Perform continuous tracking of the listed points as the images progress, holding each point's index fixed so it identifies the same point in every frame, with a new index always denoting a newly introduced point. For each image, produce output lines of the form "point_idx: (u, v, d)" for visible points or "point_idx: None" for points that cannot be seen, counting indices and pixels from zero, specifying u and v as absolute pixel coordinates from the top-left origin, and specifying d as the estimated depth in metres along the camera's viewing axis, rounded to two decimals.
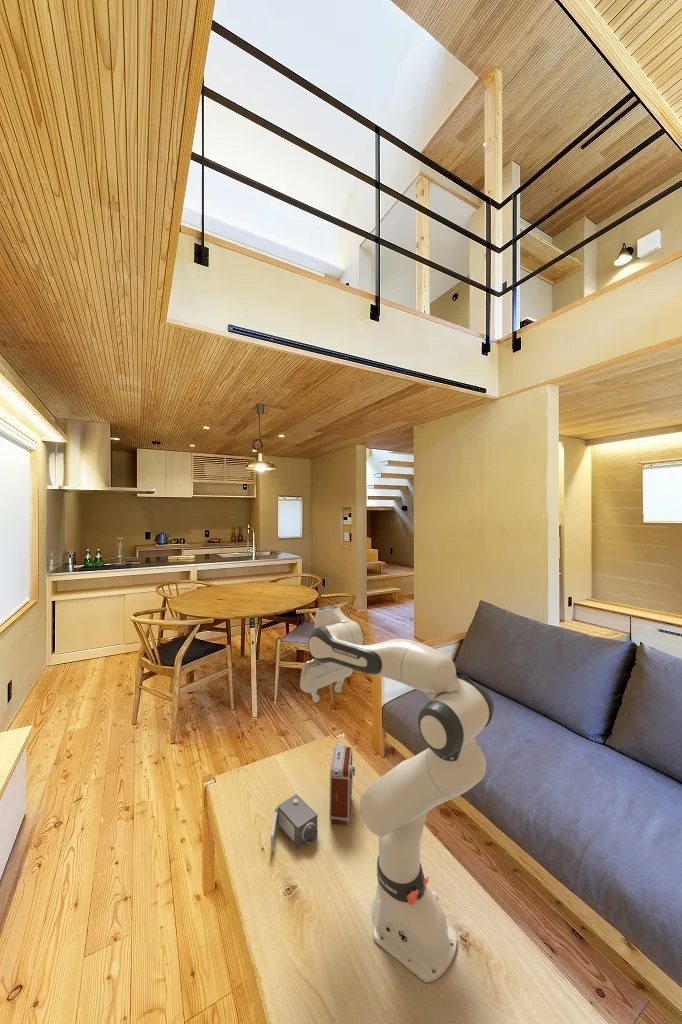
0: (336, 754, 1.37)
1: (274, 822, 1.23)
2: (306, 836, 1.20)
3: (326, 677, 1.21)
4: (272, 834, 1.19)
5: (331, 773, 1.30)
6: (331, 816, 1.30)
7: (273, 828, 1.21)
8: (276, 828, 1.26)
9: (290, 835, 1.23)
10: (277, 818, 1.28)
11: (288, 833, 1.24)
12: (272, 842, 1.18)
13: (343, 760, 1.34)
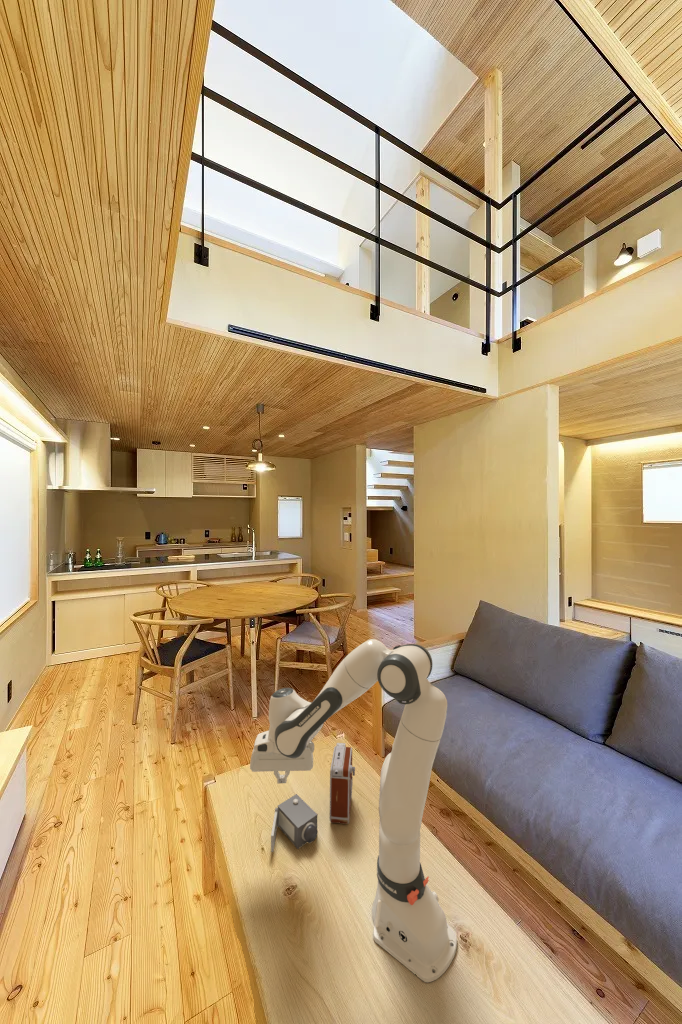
0: (336, 754, 1.37)
1: (274, 822, 1.23)
2: (306, 836, 1.20)
3: None
4: (272, 834, 1.19)
5: (331, 773, 1.30)
6: (331, 816, 1.30)
7: (273, 828, 1.21)
8: (276, 828, 1.26)
9: (290, 835, 1.23)
10: (277, 818, 1.28)
11: (288, 833, 1.24)
12: (272, 842, 1.18)
13: (343, 760, 1.34)
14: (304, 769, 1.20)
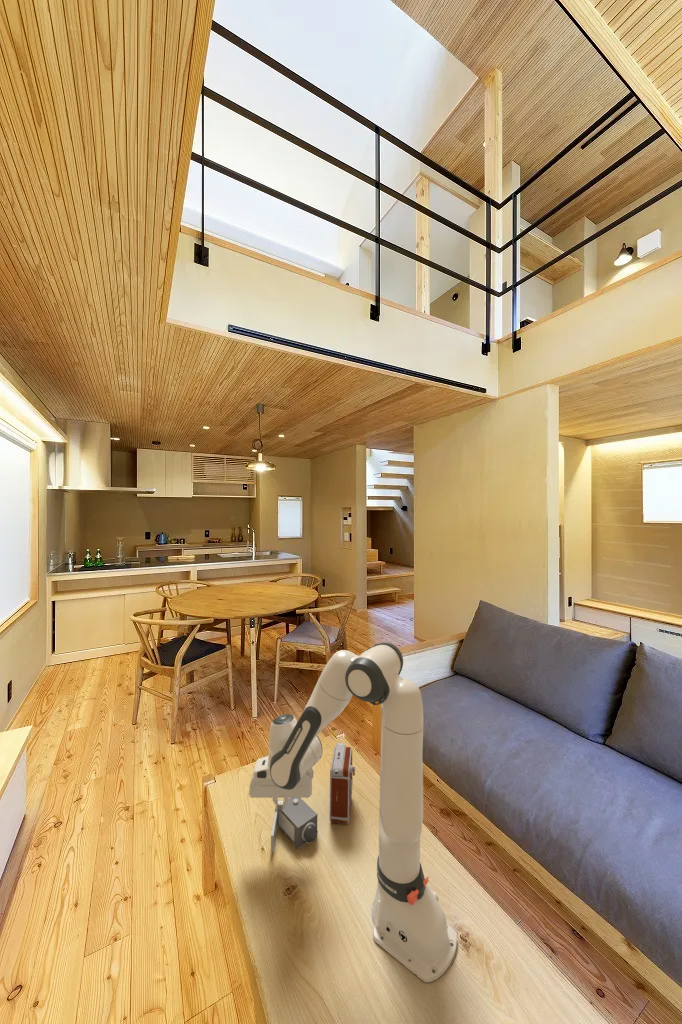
0: (336, 754, 1.37)
1: (274, 822, 1.23)
2: (306, 836, 1.20)
3: None
4: (272, 834, 1.19)
5: (331, 773, 1.30)
6: (331, 816, 1.30)
7: (273, 828, 1.21)
8: (276, 828, 1.26)
9: (290, 835, 1.23)
10: (277, 818, 1.28)
11: (288, 833, 1.24)
12: (272, 842, 1.18)
13: (343, 760, 1.34)
14: (303, 796, 1.20)
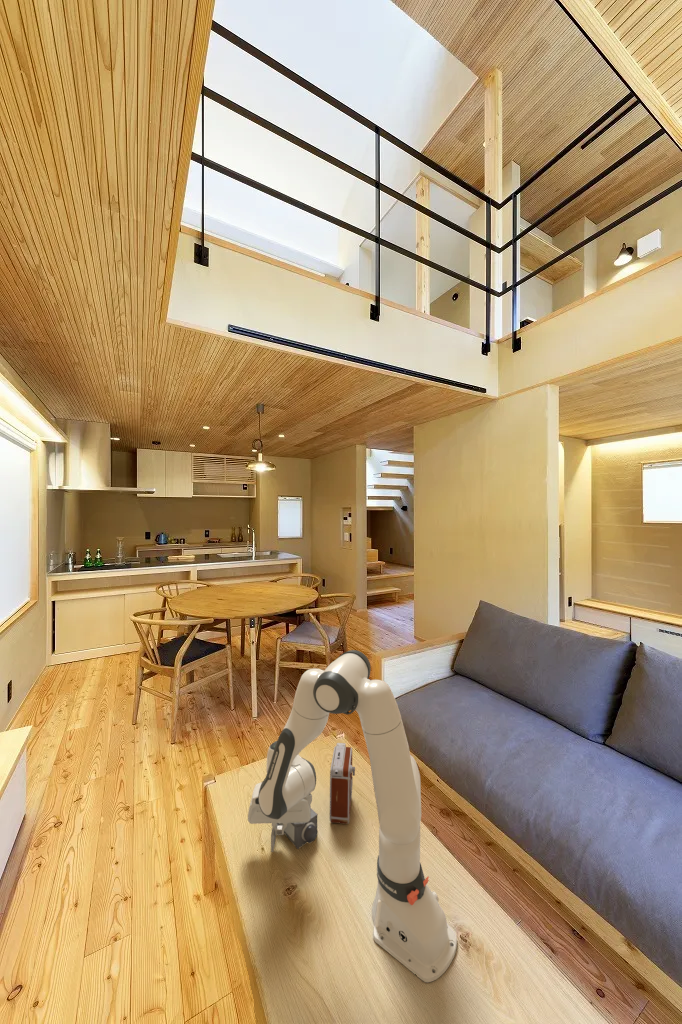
0: (336, 754, 1.37)
1: None
2: (306, 836, 1.20)
3: None
4: (272, 834, 1.19)
5: (331, 773, 1.30)
6: (331, 816, 1.30)
7: (273, 828, 1.21)
8: None
9: (290, 835, 1.23)
10: None
11: (288, 833, 1.24)
12: (272, 842, 1.18)
13: (343, 760, 1.34)
14: (302, 821, 1.20)
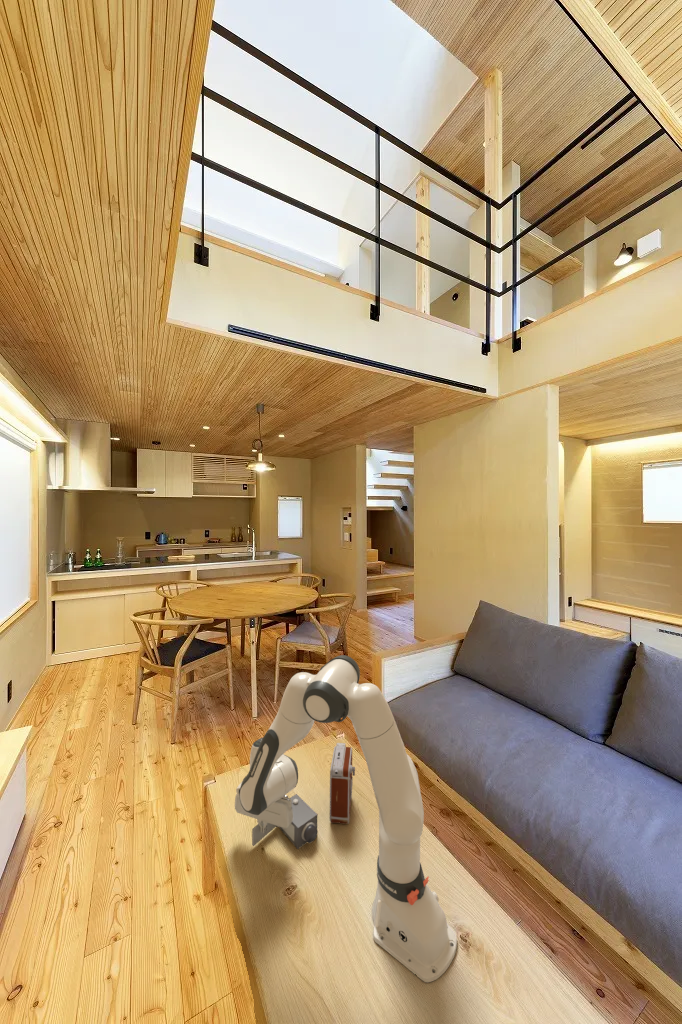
0: (336, 754, 1.37)
1: None
2: (306, 836, 1.20)
3: None
4: (254, 828, 1.21)
5: (331, 773, 1.30)
6: (331, 816, 1.30)
7: None
8: (271, 827, 1.26)
9: (290, 835, 1.23)
10: None
11: (288, 833, 1.24)
12: (253, 836, 1.20)
13: (343, 760, 1.34)
14: (280, 825, 1.18)
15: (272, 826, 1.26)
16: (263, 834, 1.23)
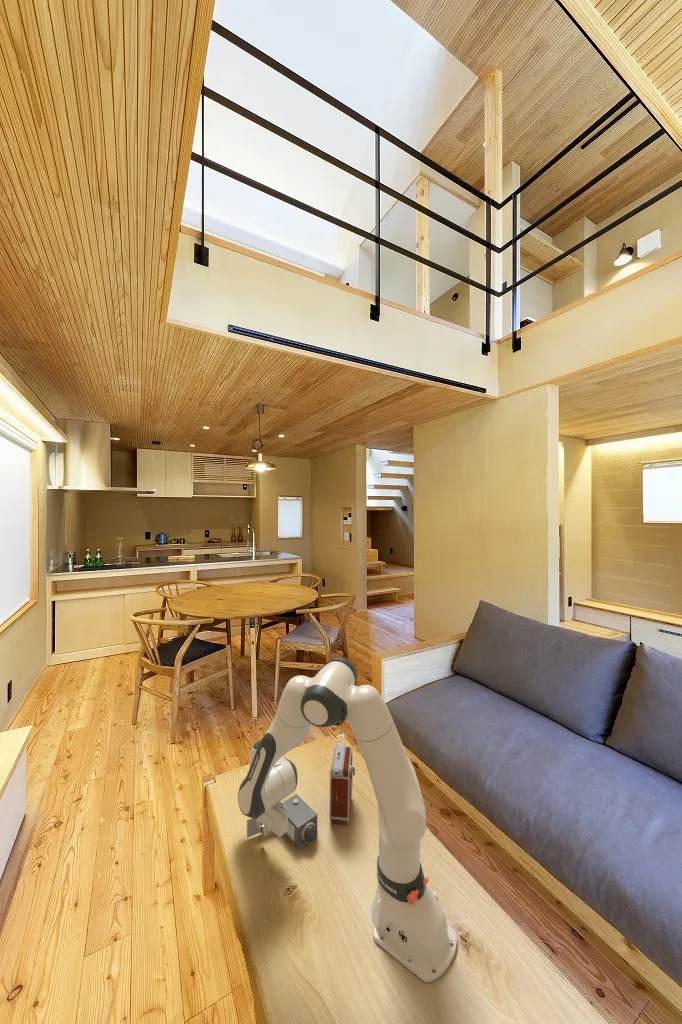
0: (336, 754, 1.37)
1: None
2: (306, 836, 1.20)
3: None
4: (248, 820, 1.24)
5: (331, 773, 1.30)
6: (331, 816, 1.30)
7: None
8: None
9: (290, 835, 1.23)
10: None
11: (288, 833, 1.24)
12: (247, 827, 1.24)
13: (343, 760, 1.34)
14: (274, 832, 1.16)
15: None
16: None
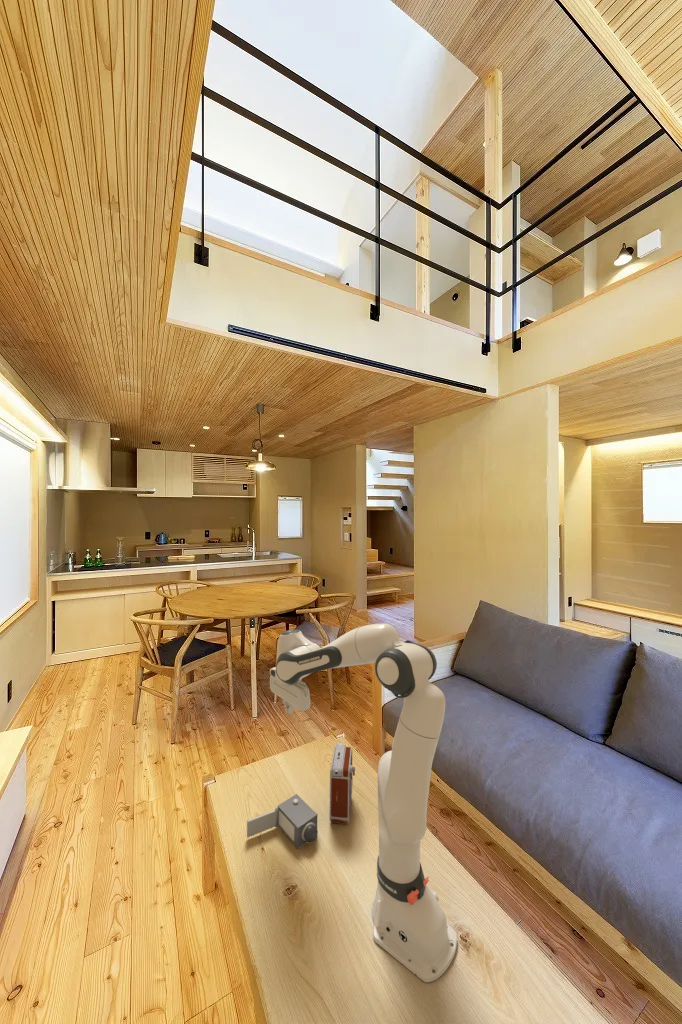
0: (336, 754, 1.37)
1: (262, 815, 1.26)
2: (306, 836, 1.20)
3: None
4: (248, 820, 1.24)
5: (331, 773, 1.30)
6: (331, 816, 1.30)
7: (255, 818, 1.25)
8: (269, 825, 1.27)
9: (290, 835, 1.23)
10: (276, 819, 1.28)
11: (288, 833, 1.24)
12: (247, 827, 1.24)
13: (343, 760, 1.34)
14: (297, 707, 1.29)
15: (270, 825, 1.27)
16: (259, 829, 1.25)
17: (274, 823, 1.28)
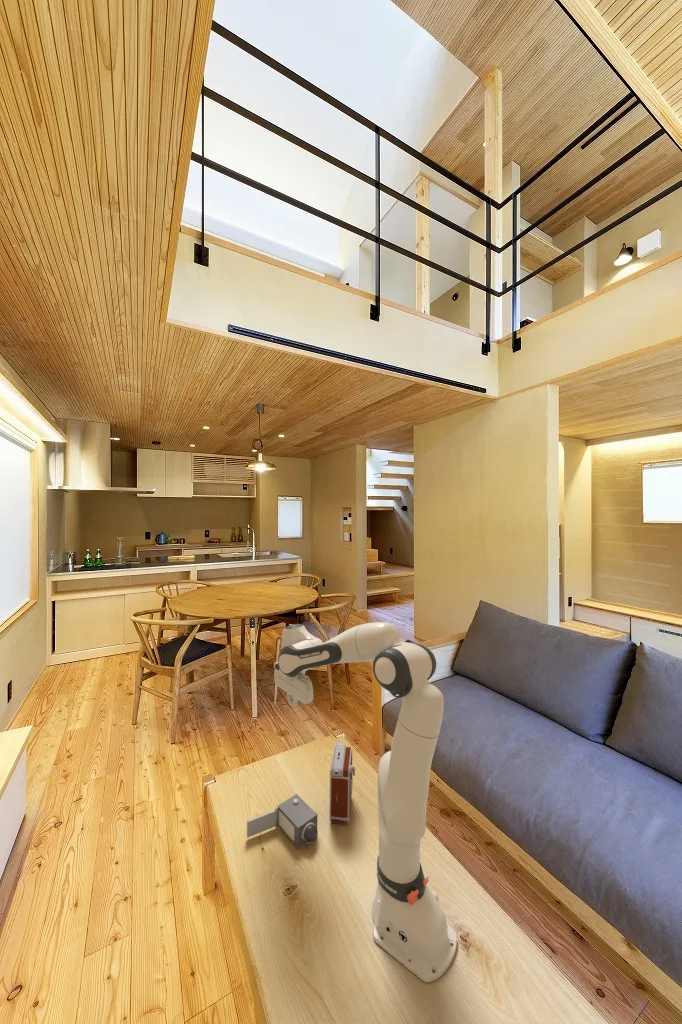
0: (336, 754, 1.37)
1: (262, 815, 1.26)
2: (306, 836, 1.20)
3: None
4: (248, 820, 1.24)
5: (331, 773, 1.30)
6: (331, 816, 1.30)
7: (255, 818, 1.25)
8: (269, 825, 1.27)
9: (290, 835, 1.23)
10: (276, 819, 1.28)
11: (288, 833, 1.24)
12: (247, 827, 1.24)
13: (343, 760, 1.34)
14: (301, 700, 1.31)
15: (270, 825, 1.27)
16: (259, 829, 1.25)
17: (274, 823, 1.28)
